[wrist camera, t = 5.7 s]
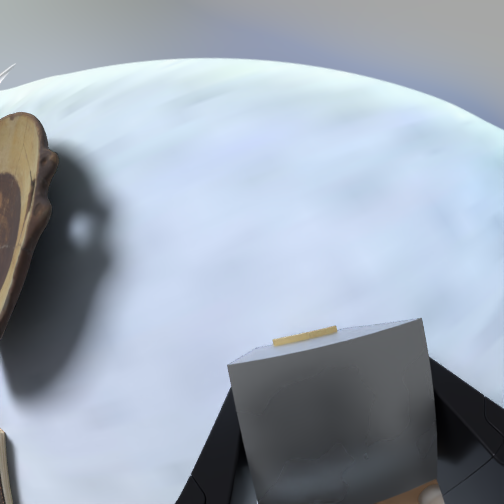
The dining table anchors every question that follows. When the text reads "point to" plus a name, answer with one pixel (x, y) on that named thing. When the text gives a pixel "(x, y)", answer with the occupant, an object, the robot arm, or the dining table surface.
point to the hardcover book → (4, 473)
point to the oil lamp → (21, 202)
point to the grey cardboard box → (338, 414)
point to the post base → (418, 495)
